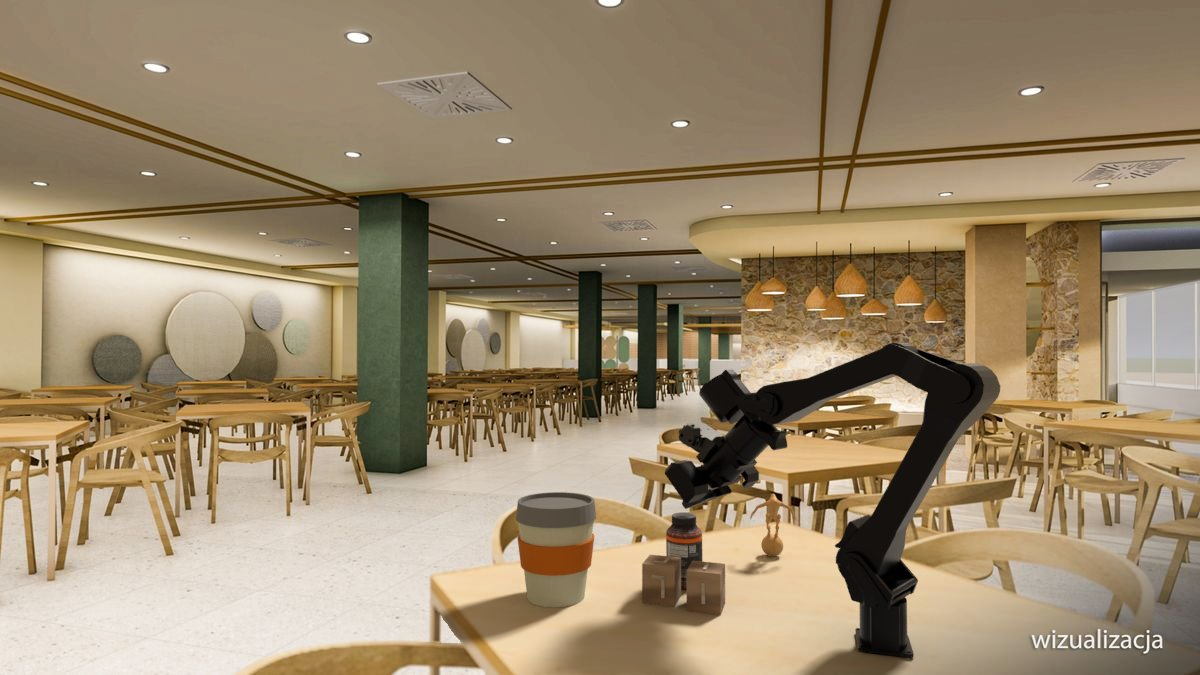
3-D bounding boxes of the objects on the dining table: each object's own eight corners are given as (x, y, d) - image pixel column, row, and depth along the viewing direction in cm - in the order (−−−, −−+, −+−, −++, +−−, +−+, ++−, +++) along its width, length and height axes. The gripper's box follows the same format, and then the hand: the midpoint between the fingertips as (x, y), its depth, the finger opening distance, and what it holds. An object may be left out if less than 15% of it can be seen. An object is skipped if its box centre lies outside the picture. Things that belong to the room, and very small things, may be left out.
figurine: (793, 553, 126) (793, 490, 127) (798, 563, 120) (798, 496, 121) (748, 552, 128) (748, 489, 128) (751, 561, 122) (751, 495, 122)
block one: (720, 616, 96) (720, 573, 97) (686, 612, 98) (686, 569, 98) (725, 603, 101) (725, 562, 102) (692, 599, 103) (692, 559, 103)
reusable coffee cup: (606, 607, 100) (606, 506, 100) (522, 616, 96) (523, 511, 97) (584, 579, 112) (584, 489, 112) (509, 587, 108) (510, 494, 109)
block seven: (674, 608, 100) (674, 566, 100) (641, 604, 101) (641, 563, 101) (681, 596, 105) (681, 556, 105) (650, 592, 106) (650, 553, 106)
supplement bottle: (679, 575, 114) (678, 508, 114) (709, 582, 110) (709, 514, 111) (659, 584, 110) (659, 515, 110) (690, 592, 106) (690, 521, 106)
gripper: (743, 403, 114) (691, 461, 121) (674, 410, 100) (620, 474, 108) (785, 454, 108) (727, 512, 115) (718, 468, 95) (658, 532, 102)
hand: (684, 506), depth 110 cm, fingers closed
